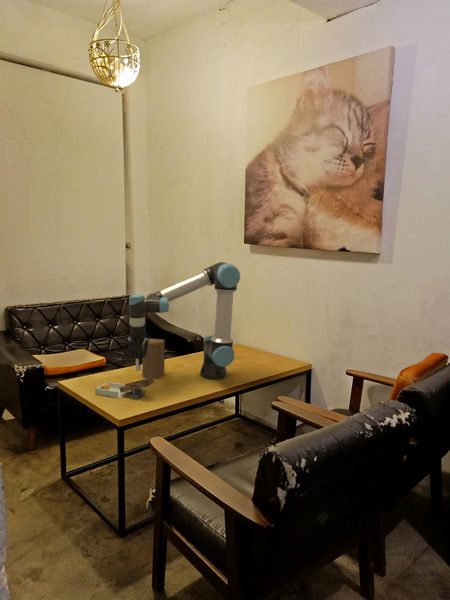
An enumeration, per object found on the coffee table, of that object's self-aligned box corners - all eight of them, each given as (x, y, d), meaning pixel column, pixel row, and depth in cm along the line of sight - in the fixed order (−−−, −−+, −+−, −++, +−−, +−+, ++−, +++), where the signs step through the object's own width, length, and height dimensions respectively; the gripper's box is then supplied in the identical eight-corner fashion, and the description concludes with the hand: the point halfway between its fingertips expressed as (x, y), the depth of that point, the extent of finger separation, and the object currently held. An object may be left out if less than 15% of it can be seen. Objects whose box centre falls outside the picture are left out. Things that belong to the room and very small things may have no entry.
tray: (131, 391, 230) (131, 385, 230) (120, 398, 220) (120, 392, 219) (107, 387, 234) (107, 381, 234) (95, 394, 224) (95, 388, 223)
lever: (161, 377, 230) (159, 371, 230) (148, 386, 216) (146, 379, 216) (134, 383, 235) (132, 377, 235) (120, 393, 222) (118, 386, 222)
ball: (112, 385, 229) (106, 381, 229) (108, 387, 225) (102, 383, 226) (109, 390, 230) (103, 386, 230) (105, 393, 226) (99, 389, 227)
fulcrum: (145, 394, 226) (145, 386, 225) (138, 399, 219) (138, 391, 218) (136, 393, 227) (136, 385, 226) (129, 398, 220) (129, 390, 220)
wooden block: (158, 379, 249) (159, 343, 246) (141, 377, 251) (141, 342, 248) (164, 373, 259) (165, 339, 256) (148, 372, 261) (148, 338, 258)
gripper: (152, 324, 229) (153, 369, 233) (129, 322, 233) (130, 367, 237) (145, 327, 222) (146, 374, 226) (122, 325, 226) (123, 371, 230)
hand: (138, 370), depth 232 cm, fingers closed
